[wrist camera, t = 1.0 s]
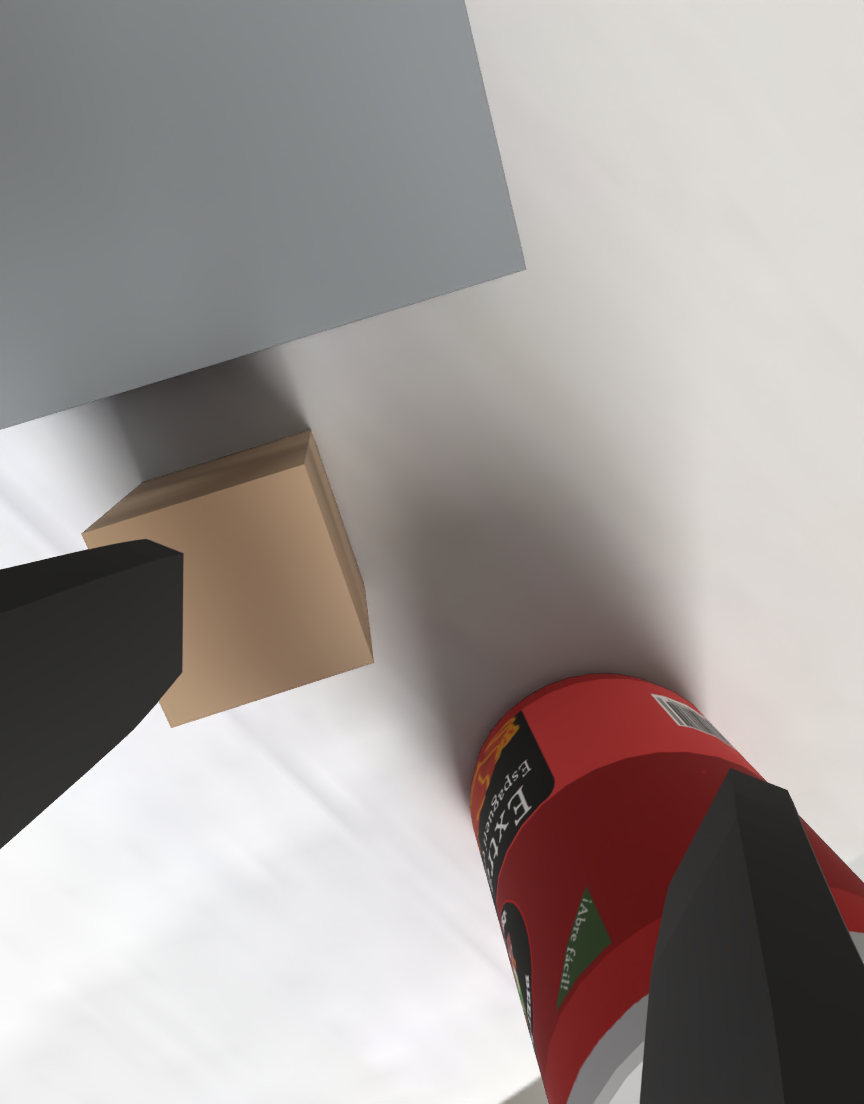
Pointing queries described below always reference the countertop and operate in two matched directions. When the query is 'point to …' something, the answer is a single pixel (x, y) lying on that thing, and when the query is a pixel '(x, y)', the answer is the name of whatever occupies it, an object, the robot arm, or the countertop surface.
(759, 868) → the robot arm
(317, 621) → the light brown rectangular block
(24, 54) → the slate base
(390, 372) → the countertop surface
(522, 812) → the canned food
